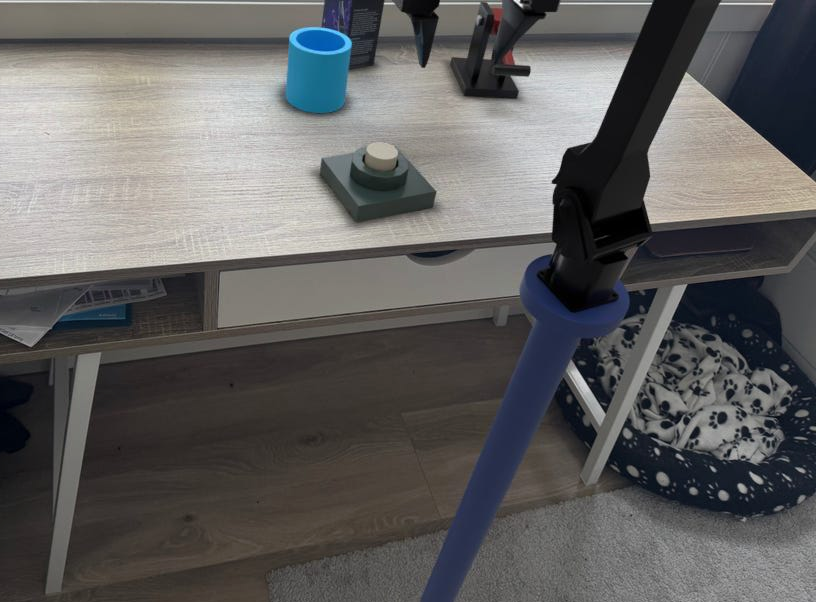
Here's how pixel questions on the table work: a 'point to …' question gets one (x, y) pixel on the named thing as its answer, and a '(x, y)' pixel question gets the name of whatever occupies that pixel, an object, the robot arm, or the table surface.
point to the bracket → (482, 63)
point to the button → (381, 156)
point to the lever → (509, 64)
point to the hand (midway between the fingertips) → (458, 65)
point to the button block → (376, 186)
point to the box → (356, 26)
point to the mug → (317, 69)
